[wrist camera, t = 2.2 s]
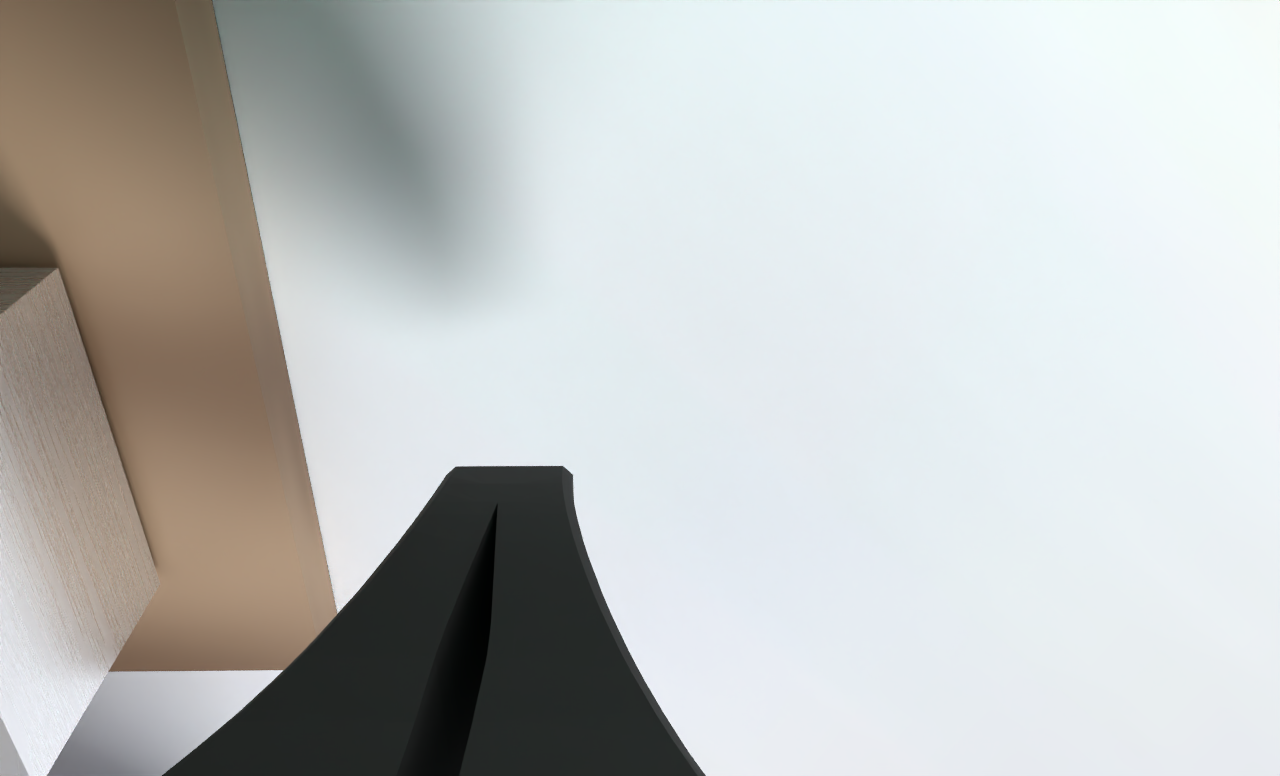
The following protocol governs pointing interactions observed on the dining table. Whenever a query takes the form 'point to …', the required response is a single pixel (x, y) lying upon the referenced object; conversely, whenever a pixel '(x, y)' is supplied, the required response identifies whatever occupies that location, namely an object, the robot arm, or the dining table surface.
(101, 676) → the gauge carriage
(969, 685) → the dining table surface
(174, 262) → the base
